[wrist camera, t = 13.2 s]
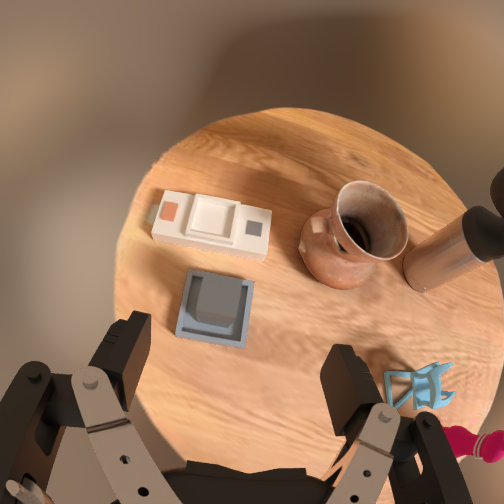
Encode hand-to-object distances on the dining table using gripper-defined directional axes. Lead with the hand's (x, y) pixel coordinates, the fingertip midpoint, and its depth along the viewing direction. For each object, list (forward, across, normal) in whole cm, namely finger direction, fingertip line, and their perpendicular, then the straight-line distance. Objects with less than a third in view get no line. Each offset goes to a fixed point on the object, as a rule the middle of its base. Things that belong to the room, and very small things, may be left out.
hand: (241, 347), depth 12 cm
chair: (+20, -34, +24) cm, 46 cm away
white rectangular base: (+36, +4, +7) cm, 37 cm away
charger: (+26, +1, +16) cm, 31 cm away
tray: (+26, +1, +16) cm, 31 cm away
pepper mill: (+11, -46, +33) cm, 57 cm away
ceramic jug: (+36, -18, +7) cm, 41 cm away
